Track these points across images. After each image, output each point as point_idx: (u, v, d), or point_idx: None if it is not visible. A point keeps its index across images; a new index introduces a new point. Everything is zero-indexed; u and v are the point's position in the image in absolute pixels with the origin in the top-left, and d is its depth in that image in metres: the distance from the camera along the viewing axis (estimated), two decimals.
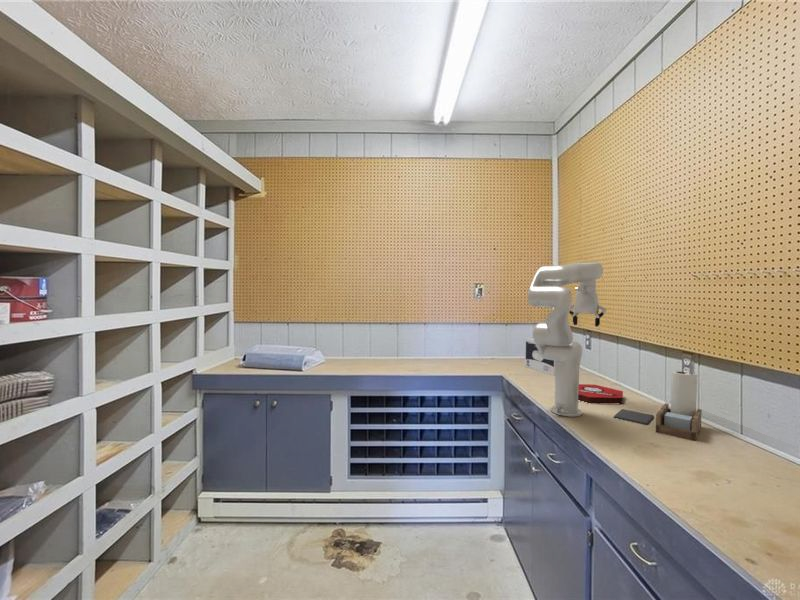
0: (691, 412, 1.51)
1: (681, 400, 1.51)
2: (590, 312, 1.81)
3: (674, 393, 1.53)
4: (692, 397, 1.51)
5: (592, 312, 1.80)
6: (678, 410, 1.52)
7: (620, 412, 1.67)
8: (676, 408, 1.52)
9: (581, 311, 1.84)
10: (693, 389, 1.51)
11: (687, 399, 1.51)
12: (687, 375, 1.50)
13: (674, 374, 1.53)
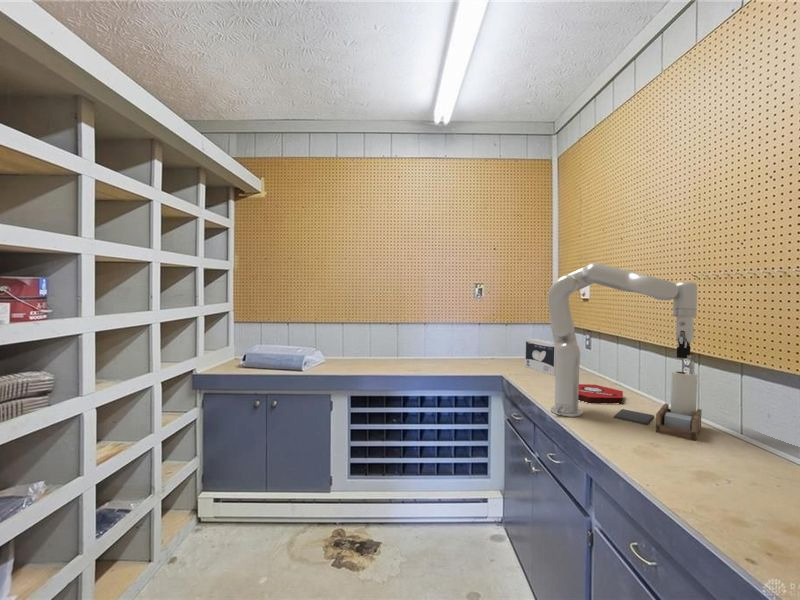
0: (691, 412, 1.51)
1: (681, 400, 1.51)
2: (693, 340, 1.53)
3: (674, 393, 1.53)
4: (692, 397, 1.51)
5: (693, 339, 1.53)
6: (678, 410, 1.52)
7: (620, 412, 1.67)
8: (676, 408, 1.52)
9: (692, 340, 1.49)
10: (693, 389, 1.51)
11: (687, 399, 1.51)
12: (687, 375, 1.50)
13: (674, 374, 1.53)
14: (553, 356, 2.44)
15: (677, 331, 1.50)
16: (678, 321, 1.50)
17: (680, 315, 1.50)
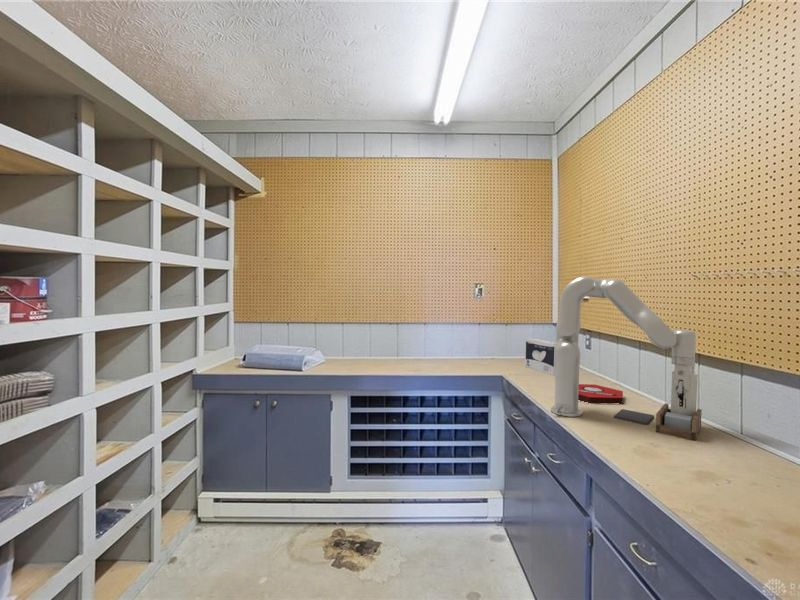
0: (691, 412, 1.51)
1: None
2: None
3: (674, 393, 1.53)
4: (692, 397, 1.51)
5: None
6: (678, 410, 1.51)
7: (620, 412, 1.67)
8: (676, 408, 1.52)
9: (690, 389, 1.50)
10: (693, 389, 1.51)
11: (687, 399, 1.50)
12: None
13: None
14: (553, 356, 2.44)
15: (675, 379, 1.50)
16: (676, 369, 1.50)
17: (678, 363, 1.51)
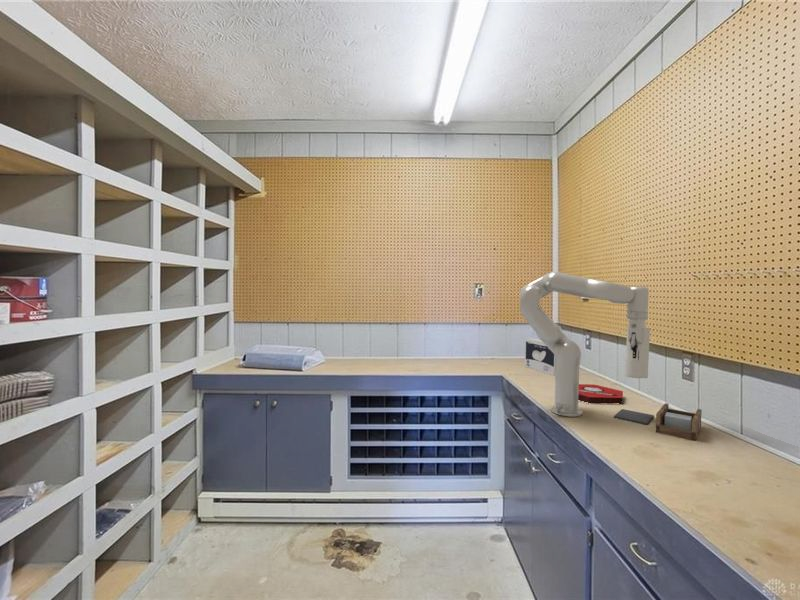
0: (643, 364, 1.60)
1: None
2: None
3: (628, 346, 1.62)
4: (645, 350, 1.60)
5: None
6: (632, 362, 1.61)
7: (620, 412, 1.67)
8: (630, 360, 1.61)
9: None
10: (646, 342, 1.60)
11: (640, 351, 1.60)
12: None
13: None
14: (553, 356, 2.44)
15: (629, 332, 1.60)
16: (630, 323, 1.60)
17: (632, 318, 1.60)
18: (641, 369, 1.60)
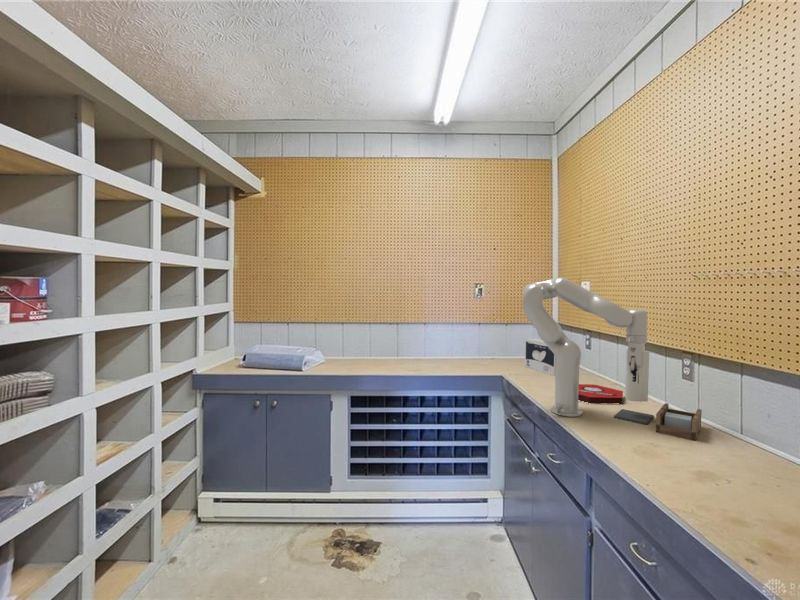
0: (643, 387, 1.60)
1: None
2: None
3: (628, 369, 1.62)
4: (645, 373, 1.60)
5: None
6: (631, 385, 1.61)
7: (620, 412, 1.67)
8: (630, 383, 1.61)
9: (642, 365, 1.59)
10: (645, 365, 1.60)
11: (640, 374, 1.60)
12: None
13: None
14: (553, 356, 2.44)
15: (628, 356, 1.60)
16: (629, 347, 1.60)
17: (631, 341, 1.60)
18: (641, 392, 1.60)
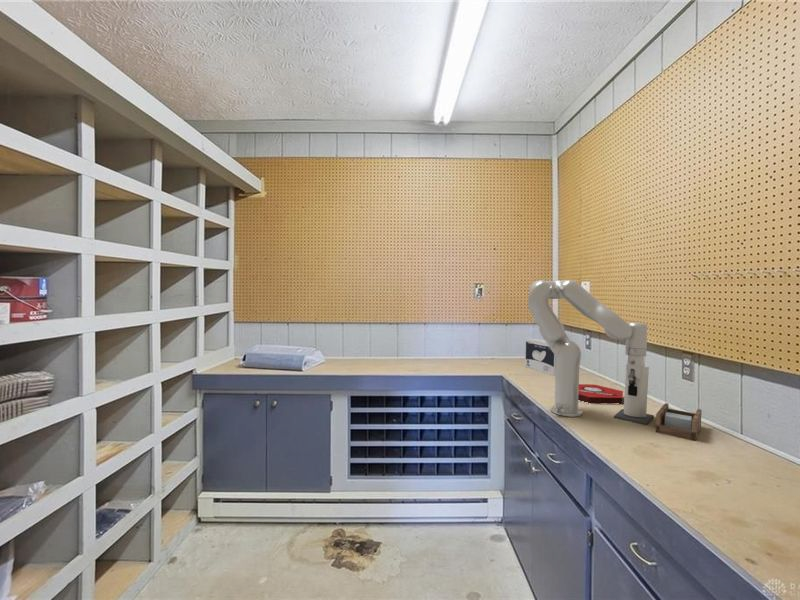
0: (642, 402, 1.61)
1: None
2: None
3: (627, 384, 1.62)
4: (644, 388, 1.60)
5: None
6: (630, 400, 1.61)
7: (620, 412, 1.67)
8: (628, 398, 1.62)
9: None
10: (644, 381, 1.60)
11: (639, 390, 1.60)
12: None
13: None
14: (553, 356, 2.44)
15: (628, 369, 1.60)
16: (629, 359, 1.60)
17: (631, 354, 1.60)
18: (639, 408, 1.60)
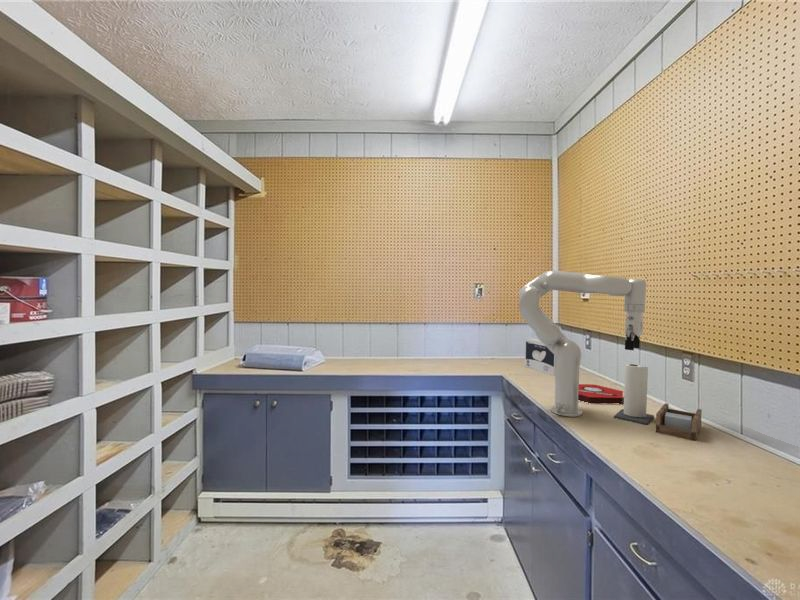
0: (642, 402, 1.61)
1: (633, 391, 1.61)
2: (641, 333, 1.63)
3: (627, 384, 1.62)
4: (643, 388, 1.60)
5: (642, 333, 1.64)
6: (630, 400, 1.61)
7: (620, 412, 1.67)
8: (628, 398, 1.62)
9: (639, 334, 1.60)
10: (644, 381, 1.60)
11: (638, 390, 1.60)
12: (638, 367, 1.60)
13: (627, 366, 1.63)
14: (553, 356, 2.44)
15: (626, 325, 1.60)
16: (627, 315, 1.60)
17: (629, 310, 1.61)
18: (639, 408, 1.60)
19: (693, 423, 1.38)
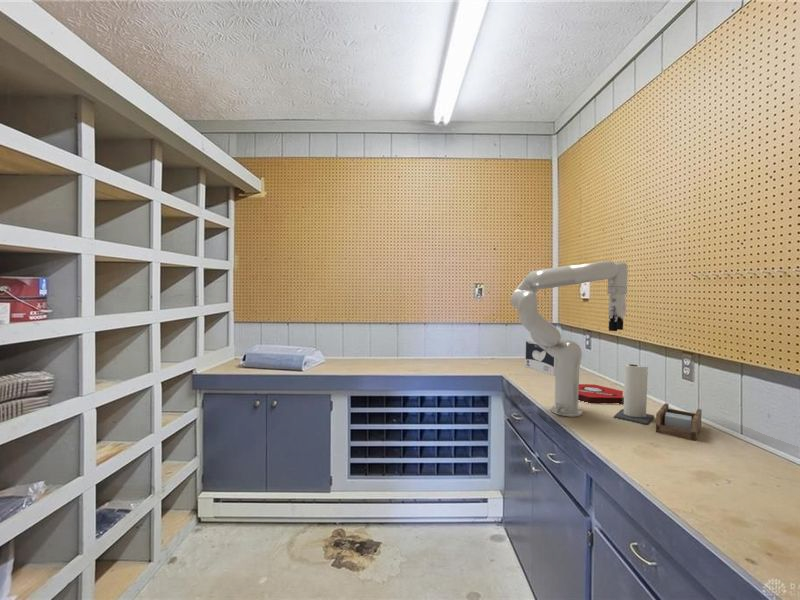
0: (642, 403, 1.61)
1: (632, 391, 1.61)
2: (624, 315, 1.68)
3: (626, 384, 1.62)
4: (643, 388, 1.60)
5: (625, 315, 1.69)
6: (630, 400, 1.61)
7: (620, 412, 1.67)
8: (628, 399, 1.62)
9: (622, 315, 1.65)
10: (644, 381, 1.60)
11: (638, 390, 1.60)
12: (638, 367, 1.60)
13: (626, 367, 1.62)
14: None
15: (609, 307, 1.66)
16: (610, 298, 1.66)
17: (612, 292, 1.66)
18: (639, 408, 1.60)
19: (693, 423, 1.38)
